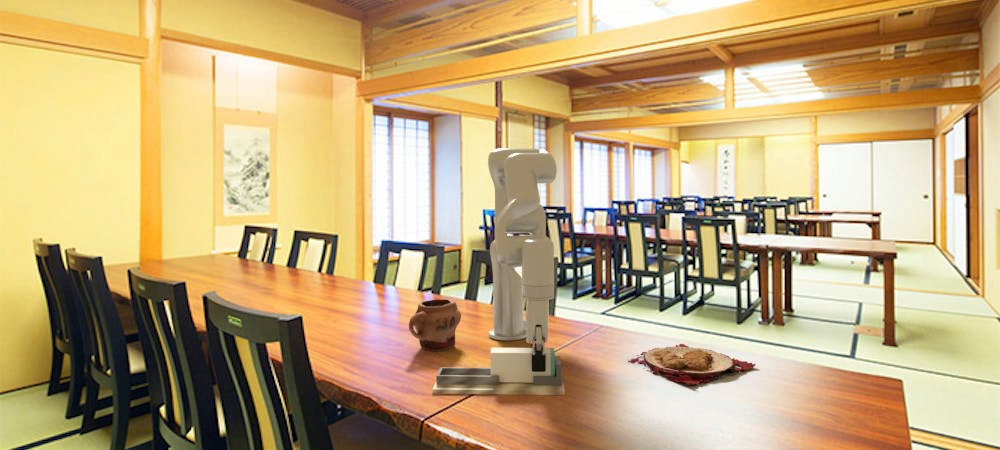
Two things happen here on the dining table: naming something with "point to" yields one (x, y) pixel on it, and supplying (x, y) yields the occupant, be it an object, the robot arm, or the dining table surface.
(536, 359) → the robot arm
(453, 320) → the brown clay mug
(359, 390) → the dining table surface
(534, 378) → the socket
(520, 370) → the white teal block
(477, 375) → the base
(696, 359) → the plate with food
